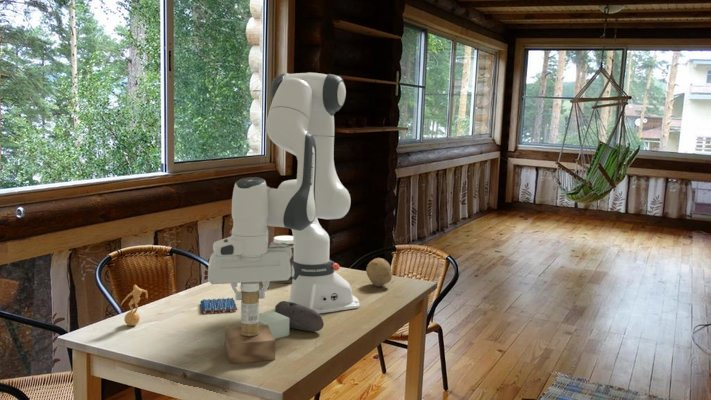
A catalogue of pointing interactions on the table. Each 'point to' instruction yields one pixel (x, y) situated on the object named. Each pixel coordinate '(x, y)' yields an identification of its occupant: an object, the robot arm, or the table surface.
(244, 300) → the sprinkles bottle
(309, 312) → the perforated stone tool
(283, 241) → the jar
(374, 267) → the natural sponge
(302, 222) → the robot arm
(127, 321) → the figurine
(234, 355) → the walnut block
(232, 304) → the woven mat
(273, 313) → the grey-green block
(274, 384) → the table surface
